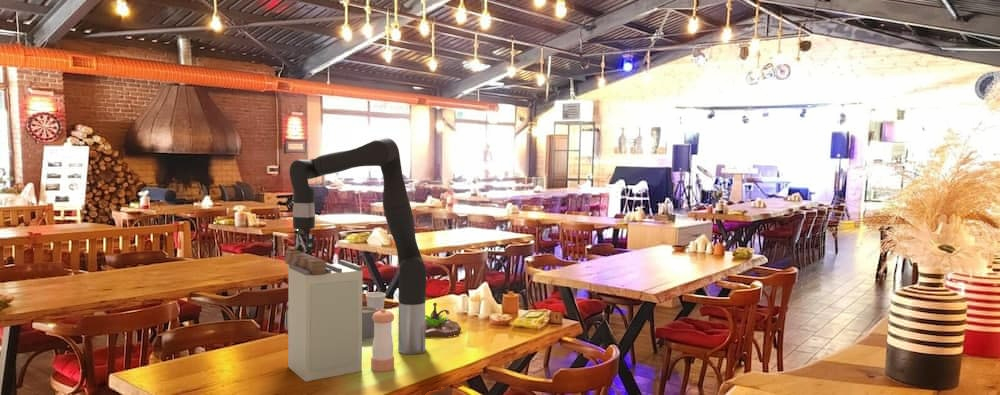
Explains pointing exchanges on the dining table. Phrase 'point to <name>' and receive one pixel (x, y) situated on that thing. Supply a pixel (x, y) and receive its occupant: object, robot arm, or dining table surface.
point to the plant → (440, 325)
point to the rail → (306, 262)
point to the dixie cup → (375, 300)
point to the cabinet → (325, 321)
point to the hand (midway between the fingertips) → (303, 260)
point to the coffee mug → (368, 322)
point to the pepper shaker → (382, 341)
